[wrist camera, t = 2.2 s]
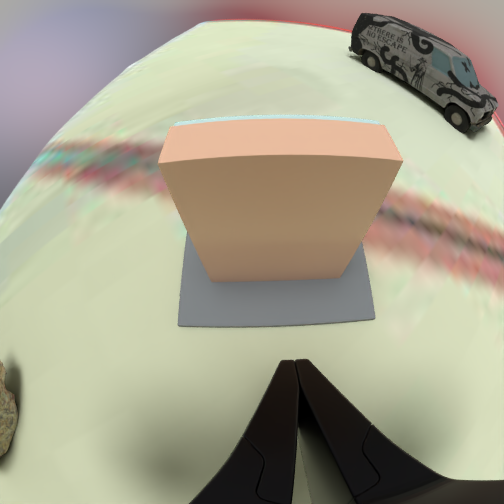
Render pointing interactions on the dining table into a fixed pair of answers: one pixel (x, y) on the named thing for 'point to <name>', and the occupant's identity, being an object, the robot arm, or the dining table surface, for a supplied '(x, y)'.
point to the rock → (6, 413)
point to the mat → (273, 298)
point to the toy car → (424, 67)
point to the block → (278, 191)
